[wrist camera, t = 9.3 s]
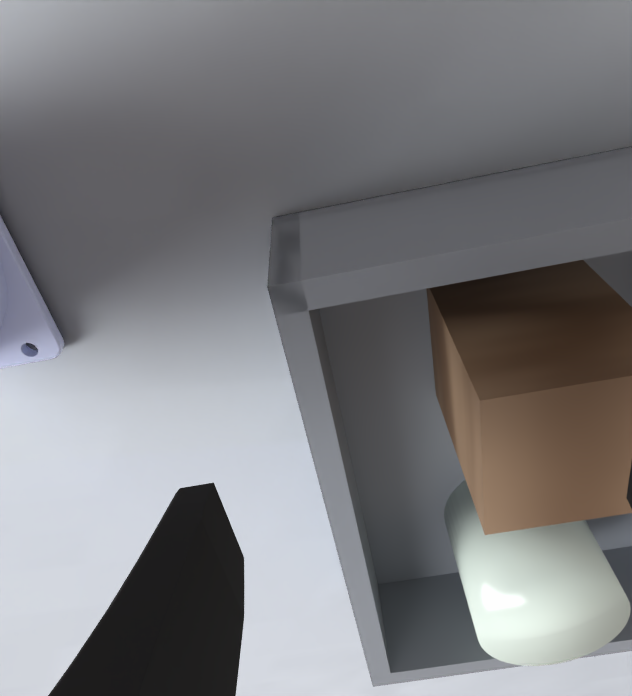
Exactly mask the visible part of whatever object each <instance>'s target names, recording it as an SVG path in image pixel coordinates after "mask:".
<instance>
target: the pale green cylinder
mask: <svg viewBox="0 0 632 696" xmlns="http://www.w3.org/2000/svg"><path fill="white" fill-rule="evenodd" d="M444 520H445V525H446V528H447V532H448V535H449V539H450V542H451V546H452V549H453V553H454V557H455V560H456V564H457V567H458V571H459V574H460V578H461V581H462V585H463V588H464V592H465V595H466V599H467V602H468V606H469V610H470V613H471V617H472V620H473V624H474V627H475V631H476V634H477V638H478V641H479V643H480V646H481V647H482V648H483V650H484V651H485V652H486V653H488V654H489V655H490V656H492V657H494V658H496V659H498V660H500V661H503V662H506V663H510V664H515V665H523V666H543V665H552V664H558V663H563V662H567V661H571V660H574V659H577V658H580V657H582V656H585V655H588V654H590V653H592V652H594V651H596V650H598V649H599V648H601V647H603V646H604V645H606V644H607V643H609V642H610V641H611V640H613V639H614V638H615V637H616V636H617V635H618V634H619V633H620V632H621V631H622V630H623V628H624V627H625V625H626V624H627V622H628V620H629V616H630V610H631V607H630V602H629V600H628V598H627V596H626V594H625V592H624V590H623V588H622V587H621V585H620V583H619V581H618V579H617V577H616V576H615V574H614V572H613V570H612V568H611V566H610V564H609V563H608V561H607V559H606V557H605V555H604V553H603V552H602V550H601V548H600V546H599V544H598V542H597V540H596V539H595V537H594V535H593V533H592V531H591V529H590V528H589V526H588V524H587V522H586V520H582V521H575V522H569V523H562V524H555V525H549V526H542V527H535V528H529V529H522V530H516V531H509V532H502V533H496V534H489V535H485V534H484V531H483V528H482V525H481V523H480V520H479V517H478V514H477V511H476V508H475V505H474V502H473V500H472V497H471V494H470V491H469V488H468V485H467V482H466V480H464V481H463V482H462V483H461V484H460V485H459V486H458V487H457V488H456V489H455V490H454V491H453V492H452V494H451V495H450V497H449V498H448V500H447V502H446V505H445V509H444Z"/></svg>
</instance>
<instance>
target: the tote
mask: <svg viewBox="0 0 632 696" xmlns="http://www.w3.org/2000/svg"><path fill="white" fill-rule="evenodd" d="M578 260H584V261H585V262H586V263H587V264H588V265H589V266H590V267H591V268H592V269H593V270H594V271H595V272H596V273H597V274H598V275H599V276H600V277H601V278H602V279H603V280H604V281H605V282H606V283H607V284H608V285H609V286H611V287H612V288H613V289H614V290H615V291H616V292H617V293H618V294H619V295H620V296H621V297H622V298H623V299H624V300H625V301H626V302H627V303H628V304H629V305H630V306H631V307H632V147H627V148H622V149H617V150H612V151H607V152H602V153H597V154H592V155H587V156H582V157H577V158H572V159H567V160H562V161H557V162H552V163H547V164H542V165H537V166H531V167H526V168H521V169H516V170H511V171H506V172H501V173H496V174H491V175H486V176H481V177H476V178H471V179H466V180H461V181H456V182H451V183H446V184H441V185H436V186H431V187H425V188H420V189H415V190H410V191H405V192H400V193H395V194H390V195H385V196H380V197H375V198H370V199H365V200H360V201H355V202H350V203H345V204H340V205H335V206H330V207H325V208H319V209H314V210H309V211H304V212H299V213H294V214H289V215H284V216H279V217H274V218H272V230H271V244H270V258H269V272H268V286H267V287H268V291H269V295H270V299H271V303H272V306H273V310H274V314H275V318H276V321H277V325H278V329H279V333H280V337H281V340H282V344H283V348H284V352H285V356H286V359H287V363H288V367H289V371H290V374H291V378H292V382H293V386H294V390H295V393H296V397H297V401H298V405H299V408H300V412H301V416H302V420H303V424H304V427H305V431H306V435H307V439H308V443H309V446H310V450H311V454H312V458H313V461H314V465H315V469H316V473H317V477H318V480H319V484H320V488H321V492H322V496H323V499H324V503H325V507H326V511H327V514H328V518H329V522H330V526H331V530H332V533H333V537H334V541H335V545H336V549H337V552H338V556H339V560H340V564H341V567H342V571H343V575H344V579H345V583H346V586H347V590H348V594H349V598H350V602H351V605H352V609H353V613H354V617H355V620H356V624H357V628H358V632H359V636H360V639H361V643H362V647H363V651H364V655H365V658H366V662H367V666H368V670H369V673H370V677H371V681H372V685H373V687H374V686H381V685H388V684H396V683H403V682H410V681H417V680H425V679H432V678H439V677H446V676H453V675H461V674H468V673H475V672H482V671H490V670H497V669H504V668H511V667H518V666H523V665H515V664H510V663H506V662H503V661H500V660H498V659H496V658H494V657H492V656H490V655H489V654H488V653H486V652H485V651H484V650H483V648H482V647H481V646H480V643H479V641H478V638H477V634H476V631H475V627H474V624H473V620H472V617H471V613H470V610H469V606H468V602H467V599H466V595H465V592H464V588H463V585H462V581H461V578H460V574H459V571H458V567H457V564H456V560H455V557H454V553H453V549H452V546H451V542H450V539H449V535H448V532H447V528H446V525H445V520H444V509H445V505H446V502H447V500H448V498H449V497H450V495H451V494H452V492H453V491H454V490H455V489H456V488H457V487H458V486H459V485H460V484H461V483H462V482H463V481H464V480H465V477H464V474H463V471H462V468H461V465H460V462H459V459H458V457H457V454H456V451H455V448H454V445H453V442H452V439H451V437H450V434H449V431H448V428H447V425H446V422H445V419H444V416H443V414H442V411H441V408H440V405H439V402H438V399H437V396H436V390H435V379H434V368H433V357H432V346H431V334H430V323H429V312H428V301H427V288H433V287H438V286H444V285H449V284H454V283H460V282H465V281H470V280H476V279H481V278H487V277H492V276H497V275H503V274H508V273H513V272H519V271H524V270H530V269H535V268H540V267H546V266H551V265H557V264H562V263H567V262H573V261H578ZM586 522H587V524H588V526H589V528H590V529H591V531H592V533H593V535H594V537H595V539H596V540H597V542H598V544H599V546H600V548H601V550H602V552H603V553H604V555H605V557H606V559H607V561H608V563H609V564H610V566H611V568H612V570H613V572H614V574H615V576H616V577H617V579H618V581H619V583H620V585H621V587H622V588H623V590H624V592H625V594H626V596H627V598H628V600H629V602H630V607H631V610H630V616H629V620H628V622H627V624H626V625H625V627H624V628H623V630H622V631H621V632H620V633H619V634H618V635H617V636H616V637H615V638H614V639H613V640H611V641H610V642H609V643H607V644H606V645H604V646H603V647H601V648H599V649H598V650H596V651H594V652H592V653H590V654H588V655H585V656H582V657H580V658H583V657H591V656H598V655H605V654H612V653H620V652H627V651H632V513H628V514H622V515H615V516H609V517H602V518H595V519H589V520H586Z"/></svg>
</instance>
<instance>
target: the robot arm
mask: <svg viewBox="0 0 632 696" xmlns="http://www.w3.org/2000/svg"><path fill="white" fill-rule="evenodd" d="M26 343H31V344H33V345H35V346H36V347H37V348H38V350H33V349H30V348H29V347H28V346H27V345H26ZM63 347H64V341H63V338H62V336H61V334H60V332H59V330H58V328H57V326H56V324H55V322H54V320H53V318H52V316H51V314H50V312H49V310H48V308H47V306H46V304H45V302H44V300H43V298H42V296H41V294H40V292H39V290H38V288H37V287H36V285H35V283H34V281H33V279H32V277H31V275H30V273H29V271H28V269H27V267H26V265H25V263H24V261H23V259H22V257H21V255H20V253H19V251H18V249H17V247H16V245H15V243H14V241H13V239H12V237H11V235H10V233H9V231H8V229H7V227H6V225H5V223H4V222H3V220H2V218H1V216H0V369H1V368H6V367H11V366H17V365H22V364H28V363H33V362H38V361H44V360H49V359H53V358H56V357H57V356H58V355H59V354H60V353H61V351H62V350H63ZM626 498H627V500H628V502H629V504H630V507H631V509H632V462H631V469H630V476H629V483H628V489H627V496H626ZM243 621H244V557H243V554H242V552H241V549H240V547H239V544H238V542H237V539H236V537H235V534H234V532H233V529H232V527H231V524H230V522H229V520H228V517H227V515H226V512H225V510H224V507H223V505H222V502H221V500H220V497H219V495H218V492H217V490H216V487H215V485H214V483H209V484H203V485H197V486H191V487H185V488H180V489H179V490H178V491H177V493H176V494H175V496H174V498H173V499H172V501H171V503H170V505H169V506H168V508H167V510H166V512H165V514H164V515H163V517H162V519H161V521H160V522H159V524H158V526H157V528H156V529H155V531H154V533H153V535H152V536H151V538H150V540H149V542H148V543H147V545H146V547H145V549H144V550H143V552H142V554H141V555H140V557H139V559H138V561H137V562H136V564H135V566H134V567H133V569H132V570H131V572H130V574H129V575H128V577H127V579H126V580H125V582H124V584H123V585H122V587H121V588H120V590H119V592H118V593H117V595H116V597H115V598H114V600H113V601H112V603H111V605H110V606H109V608H108V609H107V611H106V613H105V614H104V616H103V617H102V619H101V620H100V622H99V623H98V625H97V626H96V628H95V629H94V631H93V632H92V634H91V635H90V637H89V638H88V640H87V641H86V642H85V644H84V645H83V647H82V648H81V650H80V651H79V653H78V654H77V656H76V657H75V659H74V660H73V662H72V663H71V665H70V666H69V668H68V669H67V670H66V672H65V673H64V675H63V676H62V677H61V679H60V680H59V682H58V683H57V684H56V686H55V687H54V689H53V690H52V691H51V693H50V694H49V695H48V696H235V694H236V686H237V677H238V668H239V659H240V650H241V640H242V631H243Z"/></svg>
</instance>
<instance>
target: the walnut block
mask: <svg viewBox="0 0 632 696" xmlns="http://www.w3.org/2000/svg"><path fill="white" fill-rule="evenodd" d="M427 301H428V312H429V323H430V334H431V346H432V357H433V368H434V379H435V390H436V396H437V399H438V402H439V405H440V408H441V411H442V414H443V416H444V419H445V422H446V425H447V428H448V431H449V434H450V437H451V439H452V442H453V445H454V448H455V451H456V454H457V457H458V459H459V462H460V465H461V468H462V471H463V474H464V477H465V480H466V482H467V485H468V488H469V491H470V494H471V497H472V500H473V502H474V505H475V508H476V511H477V514H478V517H479V520H480V523H481V525H482V528H483V531H484V534H485V535H489V534H496V533H502V532H509V531H516V530H522V529H529V528H535V527H542V526H549V525H555V524H562V523H569V522H575V521H582V520H589V519H595V518H602V517H609V516H615V515H622V514H628V513H632V509H631V507H630V504H629V502H628V500H627V498H626V496H627V489H628V483H629V476H630V469H631V462H632V307H631V306H630V305H629V304H628V303H627V302H626V301H625V300H624V299H623V298H622V297H621V296H620V295H619V294H618V293H617V292H616V291H615V290H614V289H613V288H612V287H611V286H609V285H608V284H607V283H606V282H605V281H604V280H603V279H602V278H601V277H600V276H599V275H598V274H597V273H596V272H595V271H594V270H593V269H592V268H591V267H590V266H589V265H588V264H587V263H586V262H585V261H584V260H578V261H573V262H567V263H562V264H557V265H551V266H546V267H540V268H535V269H530V270H524V271H519V272H513V273H508V274H503V275H497V276H492V277H487V278H481V279H476V280H470V281H465V282H460V283H454V284H449V285H444V286H438V287H433V288H427Z"/></svg>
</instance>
